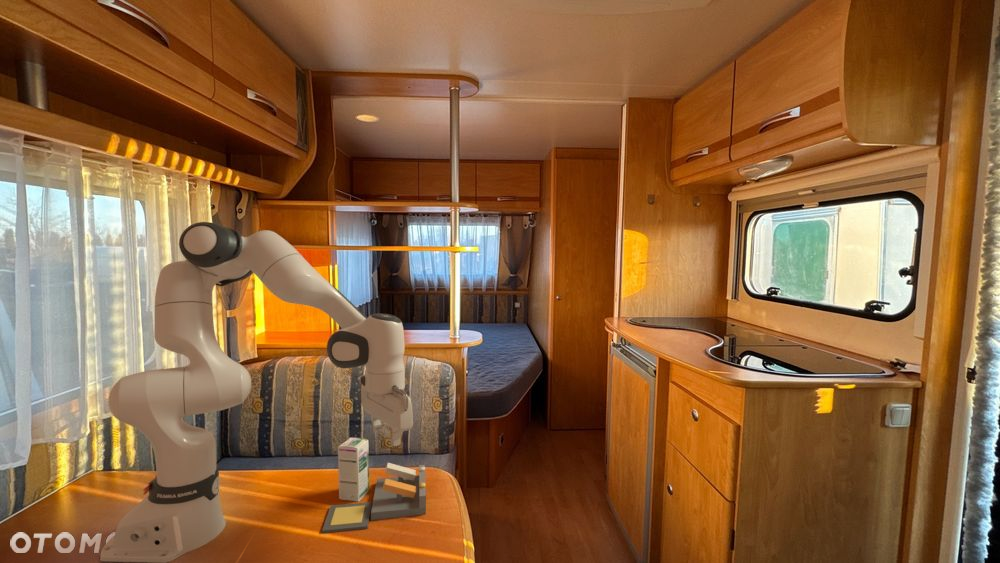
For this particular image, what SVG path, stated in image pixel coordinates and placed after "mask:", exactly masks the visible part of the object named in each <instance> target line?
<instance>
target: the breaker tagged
mask: <svg viewBox="0 0 1000 563" xmlns="http://www.w3.org/2000/svg"><path fill="white" fill-rule="evenodd" d="M383 490H384V491H387V492H391V493H395V494H399V495H403V496H407V497H411V498H414V496H415V493H416V486H412V485H409V484H405V483H401V482H397V481H394V480H390V479H385V482H384V484H383Z"/></svg>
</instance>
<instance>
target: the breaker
mask: <svg viewBox="0 0 1000 563" xmlns="http://www.w3.org/2000/svg"><path fill="white" fill-rule="evenodd" d="M384 473H385V474H387V475H391V476H393V477H401V478H405V479H409V480H412V481H414V479H415V476H417V470H416V469H412V468H409V467H405V466H402V465H398V464H394V463H391V462H387V464H386V467H385V472H384Z"/></svg>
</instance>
